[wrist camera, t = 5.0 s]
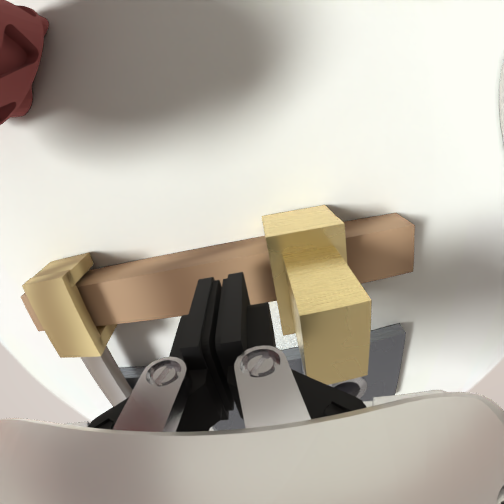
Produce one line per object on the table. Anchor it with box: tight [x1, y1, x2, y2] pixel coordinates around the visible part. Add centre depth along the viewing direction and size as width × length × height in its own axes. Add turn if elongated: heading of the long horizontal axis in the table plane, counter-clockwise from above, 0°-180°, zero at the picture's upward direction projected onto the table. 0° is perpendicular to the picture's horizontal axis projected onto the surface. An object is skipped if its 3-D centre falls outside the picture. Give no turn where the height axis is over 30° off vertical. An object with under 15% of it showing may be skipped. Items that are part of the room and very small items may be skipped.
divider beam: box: [21, 213, 415, 407], centre depth 15 cm, size 21×13×3 cm, turn 101°
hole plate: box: [119, 323, 406, 431], centre depth 18 cm, size 20×7×1 cm, turn 101°
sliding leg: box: [262, 205, 371, 387], centre depth 13 cm, size 3×13×7 cm, turn 11°
